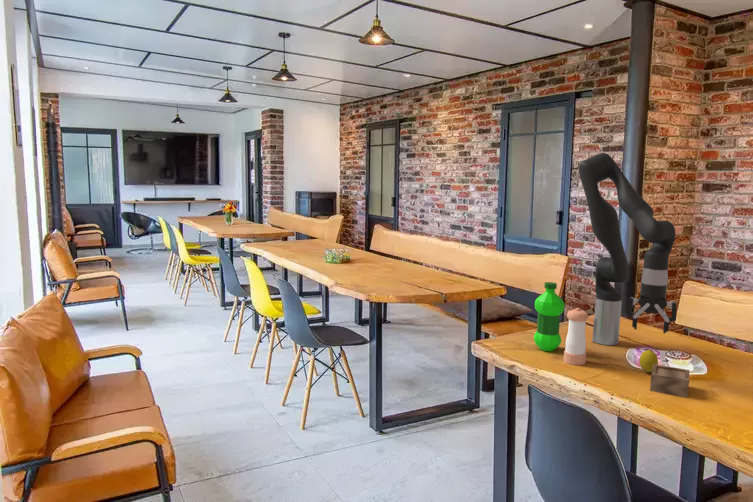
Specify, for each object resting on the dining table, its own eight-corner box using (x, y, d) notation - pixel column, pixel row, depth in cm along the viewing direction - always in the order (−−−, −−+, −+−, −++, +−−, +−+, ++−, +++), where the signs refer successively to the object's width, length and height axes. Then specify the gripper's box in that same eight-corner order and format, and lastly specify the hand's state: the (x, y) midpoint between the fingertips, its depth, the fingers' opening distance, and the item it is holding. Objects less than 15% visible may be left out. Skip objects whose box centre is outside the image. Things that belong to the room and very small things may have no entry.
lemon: (656, 371, 186) (658, 348, 184) (657, 376, 181) (659, 353, 179) (638, 368, 188) (640, 345, 187) (638, 374, 183) (640, 350, 182)
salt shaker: (565, 357, 199) (568, 304, 196) (586, 360, 196) (590, 307, 193) (562, 363, 192) (565, 309, 190) (584, 366, 189) (588, 311, 187)
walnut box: (649, 391, 169) (651, 373, 168) (652, 381, 178) (653, 364, 177) (687, 398, 164) (689, 380, 163) (687, 387, 173) (689, 369, 172)
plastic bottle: (534, 343, 215) (538, 279, 211) (563, 347, 210) (567, 282, 207) (530, 350, 206) (533, 284, 202) (559, 354, 201) (564, 287, 198)
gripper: (629, 281, 180) (625, 330, 182) (679, 286, 173) (674, 337, 176) (630, 278, 186) (626, 325, 189) (678, 282, 180) (674, 331, 182)
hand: (649, 330), depth 182 cm, fingers open, 8 cm apart
